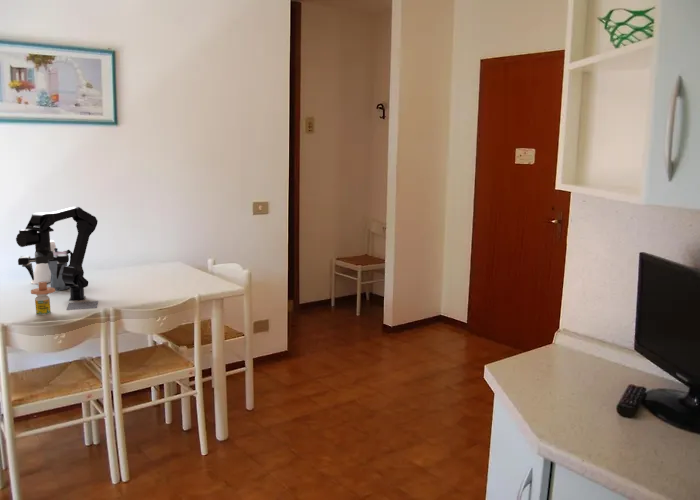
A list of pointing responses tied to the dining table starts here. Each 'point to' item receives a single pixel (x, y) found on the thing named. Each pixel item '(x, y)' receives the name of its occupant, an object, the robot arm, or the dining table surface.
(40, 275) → the white bottle
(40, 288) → the lid
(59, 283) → the moka pot
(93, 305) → the mat
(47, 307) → the supplement bottle
